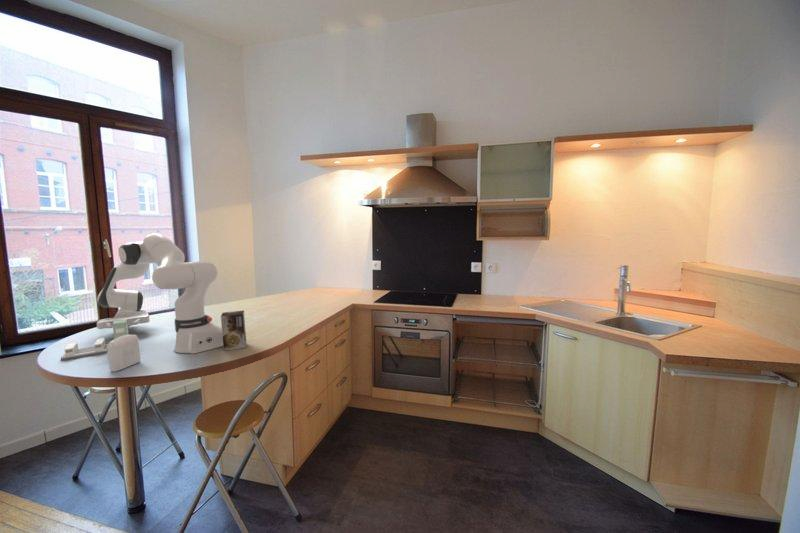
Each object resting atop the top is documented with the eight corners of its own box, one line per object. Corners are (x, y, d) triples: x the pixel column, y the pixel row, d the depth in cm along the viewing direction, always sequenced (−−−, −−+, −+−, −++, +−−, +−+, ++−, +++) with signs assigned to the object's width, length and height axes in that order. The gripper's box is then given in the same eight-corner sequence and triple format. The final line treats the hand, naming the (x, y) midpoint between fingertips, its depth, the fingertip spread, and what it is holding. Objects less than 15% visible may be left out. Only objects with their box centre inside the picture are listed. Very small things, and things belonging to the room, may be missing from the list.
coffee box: (246, 343, 151) (244, 310, 150) (245, 348, 146) (243, 313, 144) (225, 346, 148) (222, 312, 146) (223, 351, 142) (220, 315, 140)
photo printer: (133, 360, 132) (130, 331, 131) (142, 361, 132) (139, 332, 130) (107, 371, 122) (103, 340, 121) (116, 372, 121) (113, 341, 120)
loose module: (129, 343, 152) (126, 319, 151) (128, 347, 147) (125, 322, 146) (116, 346, 149) (114, 320, 148) (115, 349, 144) (112, 324, 143)
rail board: (109, 345, 150) (108, 336, 149) (106, 352, 141) (105, 343, 140) (67, 352, 141) (65, 343, 141) (61, 360, 133) (59, 350, 132)
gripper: (97, 315, 162) (93, 322, 151) (149, 309, 174) (148, 315, 163) (99, 328, 162) (94, 335, 151) (150, 321, 174) (149, 327, 163)
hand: (123, 324), depth 157 cm, fingers open, 8 cm apart
